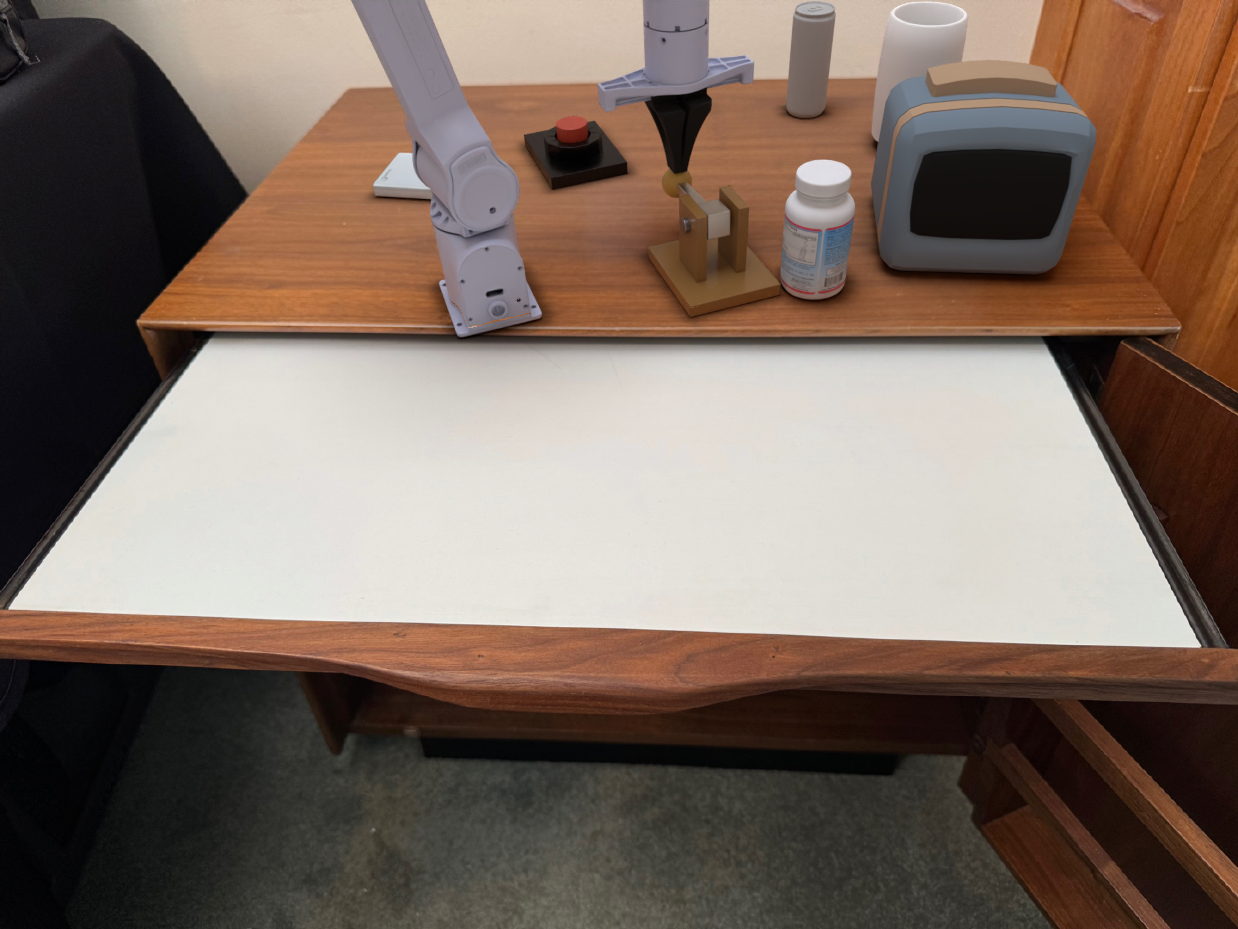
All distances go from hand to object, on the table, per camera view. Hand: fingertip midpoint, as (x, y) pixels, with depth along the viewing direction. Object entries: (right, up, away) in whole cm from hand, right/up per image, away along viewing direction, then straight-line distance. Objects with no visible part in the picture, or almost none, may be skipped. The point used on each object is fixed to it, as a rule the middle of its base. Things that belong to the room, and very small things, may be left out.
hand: (677, 168), depth 86 cm
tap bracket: (+3, -11, -1) cm, 11 cm away
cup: (+27, +8, +16) cm, 33 cm away
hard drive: (-26, +3, +15) cm, 31 cm away
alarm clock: (+28, -6, +2) cm, 29 cm away
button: (-11, +9, +16) cm, 21 cm away
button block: (-11, +7, +18) cm, 22 cm away
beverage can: (+17, +15, +23) cm, 33 cm away
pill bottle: (+12, -12, -3) cm, 18 cm away
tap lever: (+2, -5, -1) cm, 5 cm away
